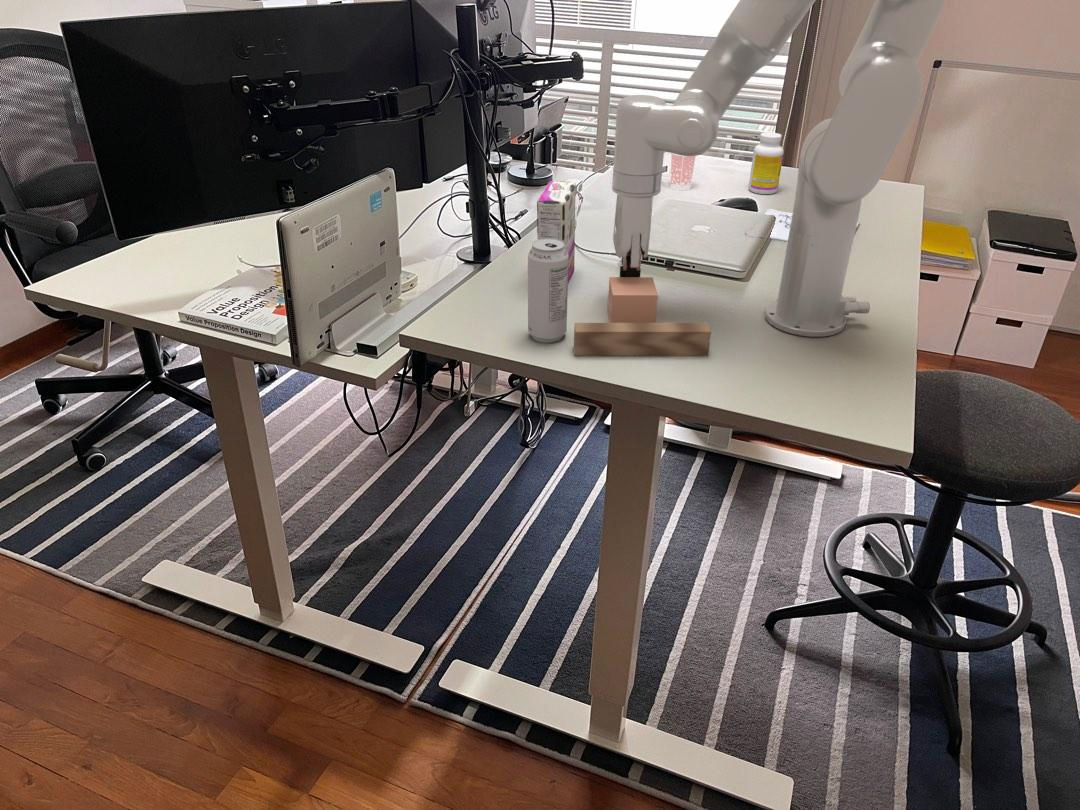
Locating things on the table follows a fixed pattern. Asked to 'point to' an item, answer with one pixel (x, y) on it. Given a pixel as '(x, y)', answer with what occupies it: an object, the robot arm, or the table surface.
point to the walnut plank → (641, 339)
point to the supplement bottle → (766, 164)
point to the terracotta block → (632, 300)
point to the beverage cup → (681, 171)
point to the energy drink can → (547, 290)
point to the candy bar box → (558, 216)
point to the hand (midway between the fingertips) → (628, 290)
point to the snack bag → (782, 224)
